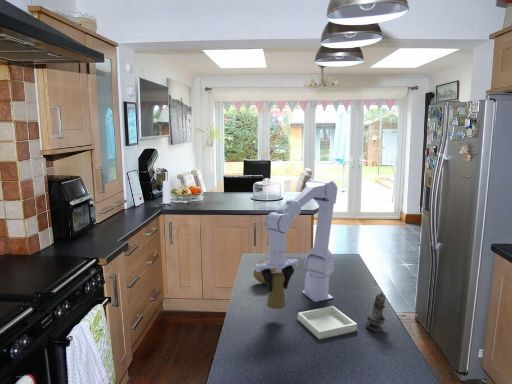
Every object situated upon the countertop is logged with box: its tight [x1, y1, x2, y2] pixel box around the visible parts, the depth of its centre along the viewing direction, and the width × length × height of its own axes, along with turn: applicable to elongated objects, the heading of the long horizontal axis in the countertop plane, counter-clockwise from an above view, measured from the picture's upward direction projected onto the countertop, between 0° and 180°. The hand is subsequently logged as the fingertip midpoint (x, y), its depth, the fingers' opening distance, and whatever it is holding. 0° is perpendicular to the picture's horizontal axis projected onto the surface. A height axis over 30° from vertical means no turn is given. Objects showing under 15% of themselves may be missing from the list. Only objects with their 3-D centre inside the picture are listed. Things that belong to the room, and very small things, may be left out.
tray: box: [297, 305, 358, 340], centre depth 129 cm, size 14×14×2 cm
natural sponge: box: [252, 259, 277, 285], centre depth 161 cm, size 9×9×10 cm
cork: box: [266, 271, 286, 310], centre depth 131 cm, size 6×6×11 cm
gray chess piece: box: [365, 291, 387, 332], centre depth 126 cm, size 6×6×12 cm
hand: (276, 289), depth 131 cm, fingers closed on cork, 5 cm apart
